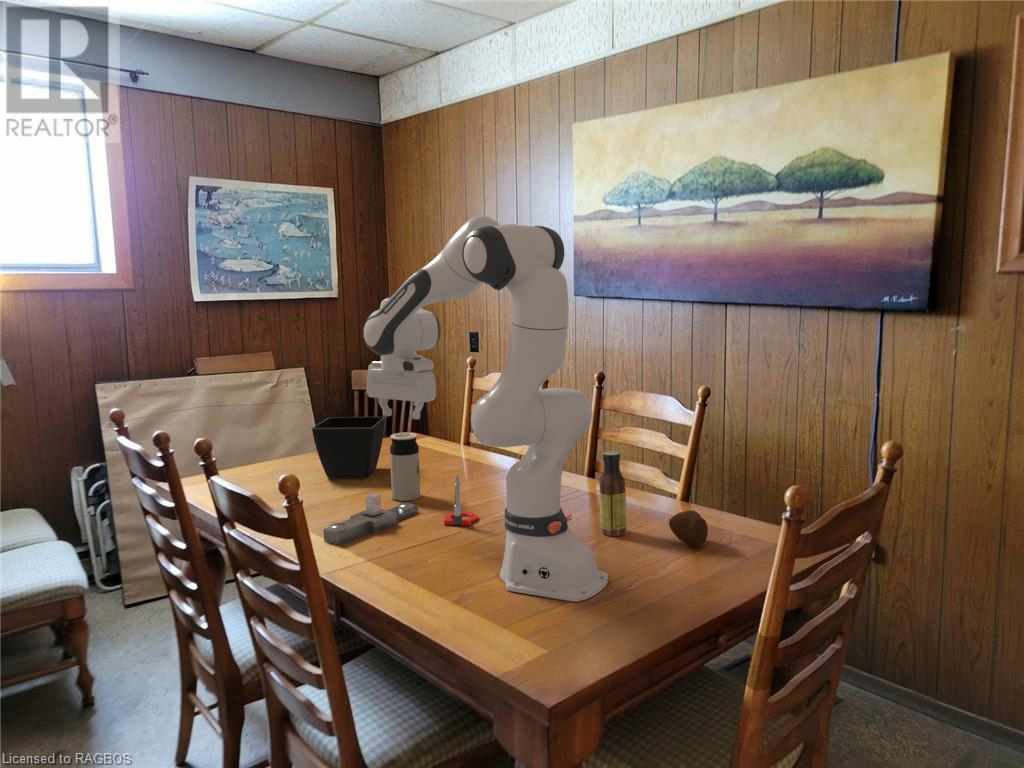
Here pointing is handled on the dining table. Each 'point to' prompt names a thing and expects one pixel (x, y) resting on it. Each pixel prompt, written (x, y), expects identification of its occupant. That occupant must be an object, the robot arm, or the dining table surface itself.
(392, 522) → the chain end
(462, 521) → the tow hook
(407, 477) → the travel mug
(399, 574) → the dining table surface
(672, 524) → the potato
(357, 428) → the flower pot
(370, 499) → the pin
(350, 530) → the bar
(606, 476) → the sauce bottle
